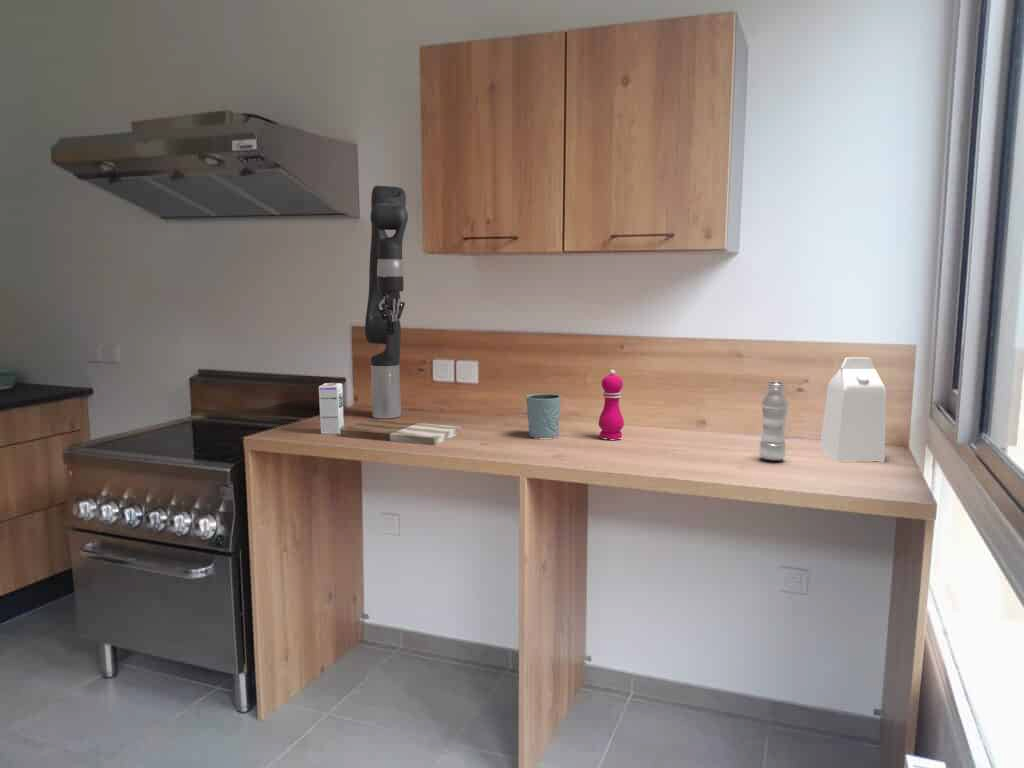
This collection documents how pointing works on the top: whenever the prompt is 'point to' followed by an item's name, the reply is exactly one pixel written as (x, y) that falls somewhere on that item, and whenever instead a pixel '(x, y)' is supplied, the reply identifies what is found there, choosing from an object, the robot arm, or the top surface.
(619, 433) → the pepper mill
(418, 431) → the beige flat block
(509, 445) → the top surface
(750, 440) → the top surface
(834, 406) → the milk
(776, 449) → the plastic bottle
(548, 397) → the blue planter pot
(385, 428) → the planks
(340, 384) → the syrup box
